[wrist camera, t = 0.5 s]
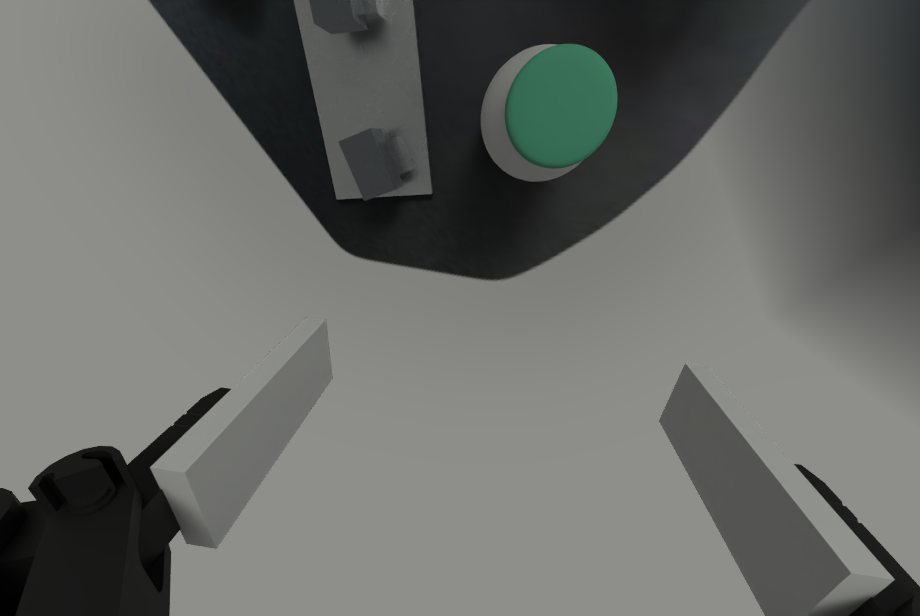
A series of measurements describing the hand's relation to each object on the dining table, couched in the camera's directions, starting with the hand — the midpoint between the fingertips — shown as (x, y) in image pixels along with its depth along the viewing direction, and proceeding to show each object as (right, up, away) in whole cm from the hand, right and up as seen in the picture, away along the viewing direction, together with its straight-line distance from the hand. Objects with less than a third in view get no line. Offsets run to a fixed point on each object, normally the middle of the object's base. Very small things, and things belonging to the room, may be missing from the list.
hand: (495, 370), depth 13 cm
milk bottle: (+5, +19, +19) cm, 28 cm away
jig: (-10, +23, +19) cm, 31 cm away
